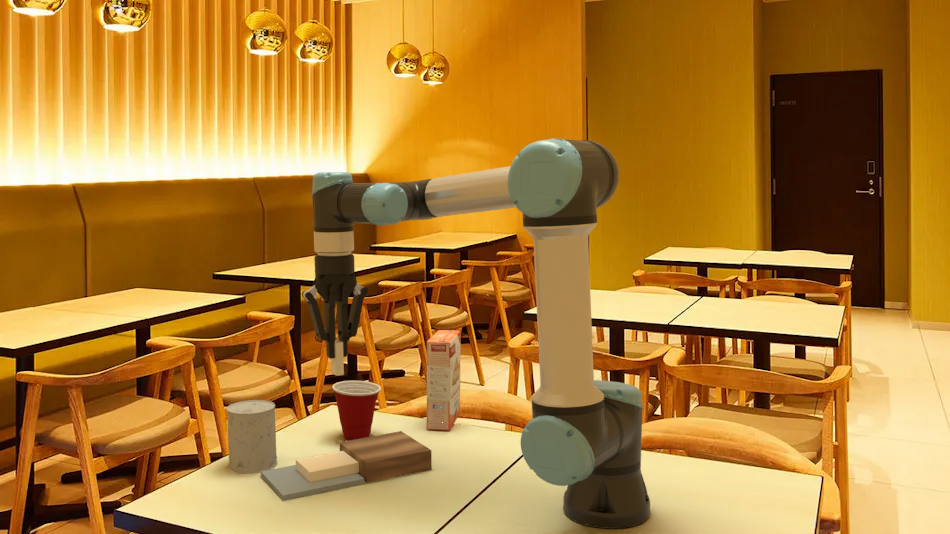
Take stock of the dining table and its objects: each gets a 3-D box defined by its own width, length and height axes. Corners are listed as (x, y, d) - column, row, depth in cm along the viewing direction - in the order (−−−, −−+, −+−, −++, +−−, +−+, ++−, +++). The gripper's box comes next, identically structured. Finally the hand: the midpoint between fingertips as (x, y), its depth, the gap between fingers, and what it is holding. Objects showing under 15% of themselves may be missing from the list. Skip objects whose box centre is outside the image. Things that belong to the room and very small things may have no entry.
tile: (359, 472, 167) (358, 462, 167) (310, 482, 162) (310, 472, 162) (343, 460, 174) (343, 450, 174) (296, 469, 169) (295, 459, 169)
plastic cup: (376, 446, 185) (375, 392, 184) (327, 445, 186) (326, 391, 185) (386, 430, 196) (385, 379, 194) (340, 429, 197) (338, 378, 195)
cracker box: (451, 431, 195) (451, 341, 192) (425, 430, 196) (424, 341, 193) (462, 413, 209) (461, 329, 206) (437, 412, 209) (437, 328, 207)
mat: (364, 483, 164) (364, 478, 164) (283, 500, 156) (283, 495, 156) (337, 461, 176) (337, 456, 176) (260, 476, 168) (260, 471, 168)
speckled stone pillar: (219, 465, 174) (217, 407, 172) (260, 453, 181) (258, 397, 179) (245, 477, 168) (243, 416, 166) (286, 464, 175) (284, 406, 173)
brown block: (431, 469, 171) (431, 450, 171) (366, 483, 164) (366, 462, 164) (401, 449, 183) (401, 431, 183) (339, 461, 176) (339, 442, 176)
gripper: (358, 249, 170) (361, 365, 173) (294, 253, 163) (298, 374, 166) (373, 252, 163) (376, 373, 166) (308, 257, 157) (312, 382, 160)
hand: (337, 373), depth 166 cm, fingers closed
